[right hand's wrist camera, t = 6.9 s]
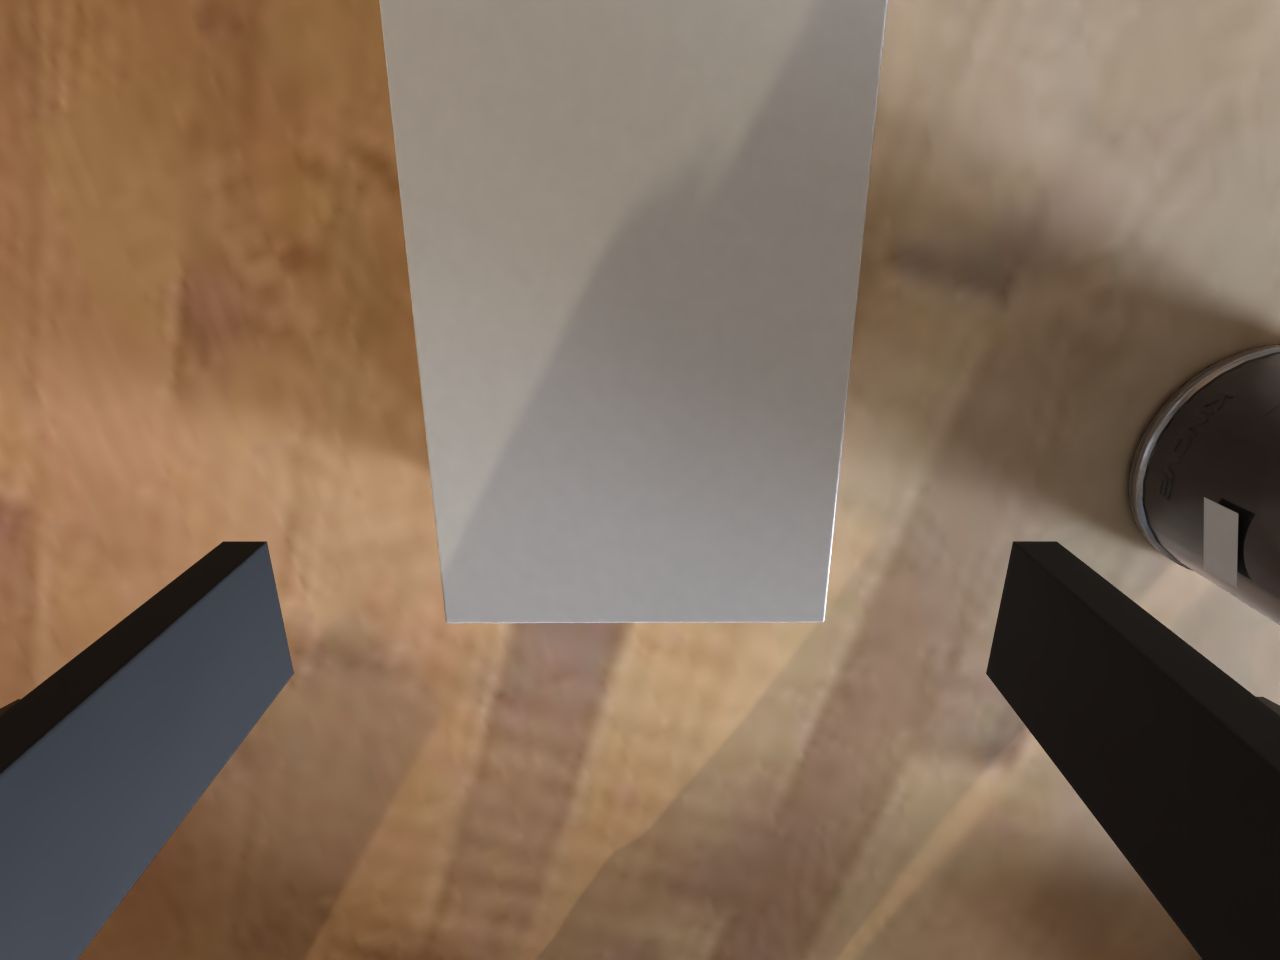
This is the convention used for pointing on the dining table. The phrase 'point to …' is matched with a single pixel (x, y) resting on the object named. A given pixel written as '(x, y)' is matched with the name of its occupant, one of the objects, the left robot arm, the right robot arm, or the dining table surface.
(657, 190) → the cabinet
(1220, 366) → the left robot arm
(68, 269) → the dining table surface
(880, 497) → the dining table surface
